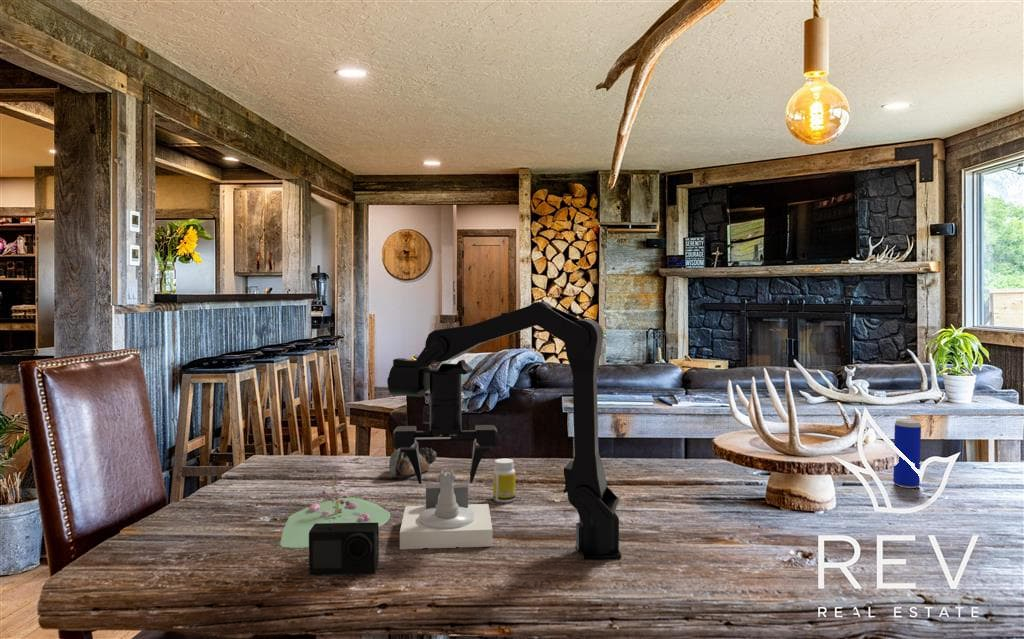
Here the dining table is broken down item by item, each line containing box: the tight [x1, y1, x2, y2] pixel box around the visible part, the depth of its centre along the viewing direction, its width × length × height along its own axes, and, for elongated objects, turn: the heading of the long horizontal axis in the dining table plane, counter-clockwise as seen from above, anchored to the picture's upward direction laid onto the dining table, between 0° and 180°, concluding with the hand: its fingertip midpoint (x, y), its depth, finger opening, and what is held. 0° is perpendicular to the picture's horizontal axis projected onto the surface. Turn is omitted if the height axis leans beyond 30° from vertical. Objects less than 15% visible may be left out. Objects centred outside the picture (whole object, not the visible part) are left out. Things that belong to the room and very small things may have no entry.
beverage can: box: [892, 418, 922, 489], centre depth 154 cm, size 5×5×15 cm
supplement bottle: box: [492, 458, 516, 503], centre depth 144 cm, size 5×5×8 cm
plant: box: [280, 474, 391, 549], centre depth 129 cm, size 25×21×9 cm
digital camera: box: [308, 523, 380, 576], centre depth 108 cm, size 10×5×7 cm, turn 93°
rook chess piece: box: [435, 469, 459, 518], centre depth 123 cm, size 4×4×8 cm
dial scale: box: [399, 483, 493, 550], centre depth 124 cm, size 16×14×7 cm
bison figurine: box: [388, 447, 437, 477], centre depth 164 cm, size 12×7×10 cm
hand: (445, 482), depth 123 cm, fingers open, 9 cm apart
